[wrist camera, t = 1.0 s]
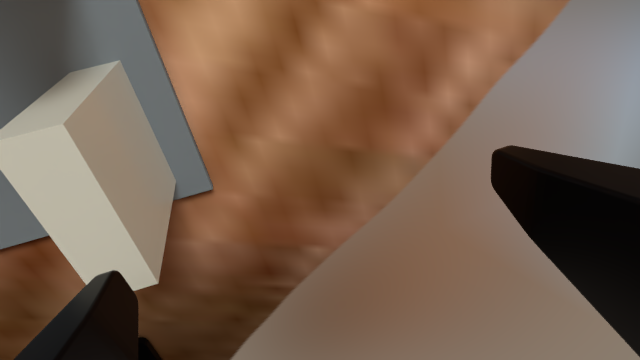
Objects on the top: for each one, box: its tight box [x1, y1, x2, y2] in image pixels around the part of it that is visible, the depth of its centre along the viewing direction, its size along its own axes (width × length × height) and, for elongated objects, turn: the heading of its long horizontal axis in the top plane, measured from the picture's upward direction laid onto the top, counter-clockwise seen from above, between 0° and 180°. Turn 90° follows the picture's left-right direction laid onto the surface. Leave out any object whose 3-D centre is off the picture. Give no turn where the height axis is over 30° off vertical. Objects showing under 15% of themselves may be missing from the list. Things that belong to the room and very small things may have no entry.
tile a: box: [0, 60, 176, 291], centre depth 14 cm, size 6×2×7 cm, turn 12°
